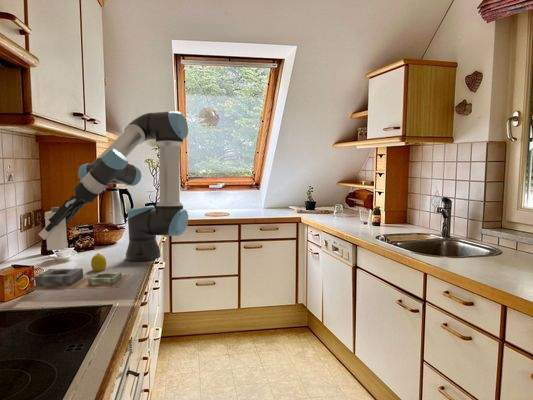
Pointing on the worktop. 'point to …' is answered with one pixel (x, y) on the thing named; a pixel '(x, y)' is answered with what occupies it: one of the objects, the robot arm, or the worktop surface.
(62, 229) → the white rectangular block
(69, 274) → the board
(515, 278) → the worktop surface
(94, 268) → the lemon
